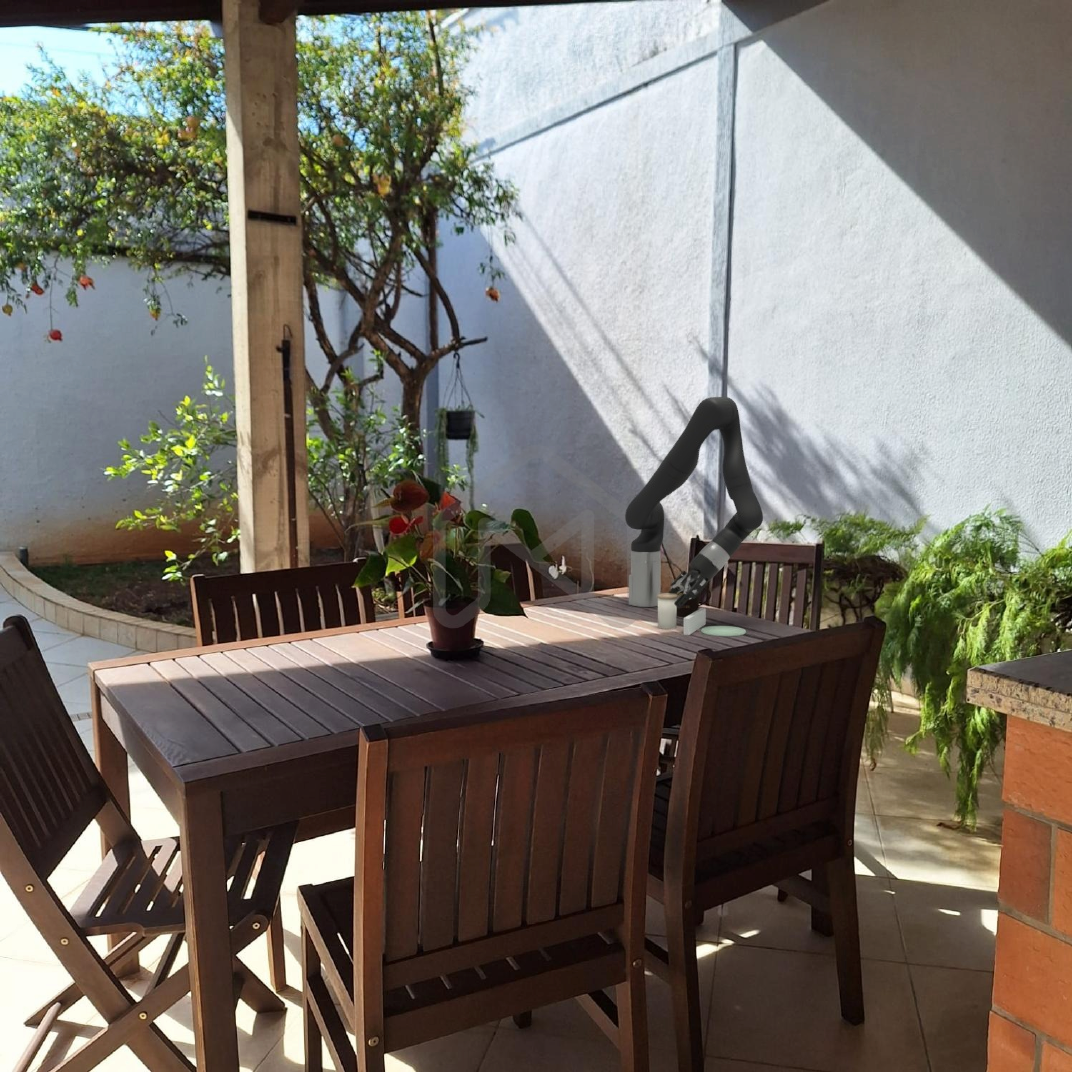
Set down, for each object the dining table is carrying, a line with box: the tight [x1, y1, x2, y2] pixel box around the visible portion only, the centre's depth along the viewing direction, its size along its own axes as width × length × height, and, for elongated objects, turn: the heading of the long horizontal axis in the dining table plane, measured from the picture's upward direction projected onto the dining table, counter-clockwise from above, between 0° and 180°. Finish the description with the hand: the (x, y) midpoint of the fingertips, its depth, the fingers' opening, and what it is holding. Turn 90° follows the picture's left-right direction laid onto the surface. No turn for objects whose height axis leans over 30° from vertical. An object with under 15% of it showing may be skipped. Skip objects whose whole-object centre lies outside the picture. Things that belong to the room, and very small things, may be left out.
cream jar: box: [657, 592, 678, 630], centre depth 270 cm, size 6×6×9 cm
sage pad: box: [700, 625, 747, 637], centre depth 263 cm, size 12×12×1 cm
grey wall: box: [683, 607, 707, 636], centre depth 266 cm, size 2×16×4 cm, turn 154°
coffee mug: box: [671, 580, 712, 618], centre depth 285 cm, size 12×9×10 cm
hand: (671, 603), depth 269 cm, fingers open, 8 cm apart
